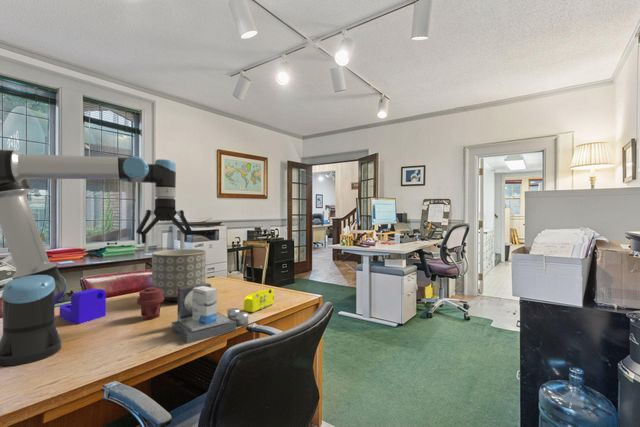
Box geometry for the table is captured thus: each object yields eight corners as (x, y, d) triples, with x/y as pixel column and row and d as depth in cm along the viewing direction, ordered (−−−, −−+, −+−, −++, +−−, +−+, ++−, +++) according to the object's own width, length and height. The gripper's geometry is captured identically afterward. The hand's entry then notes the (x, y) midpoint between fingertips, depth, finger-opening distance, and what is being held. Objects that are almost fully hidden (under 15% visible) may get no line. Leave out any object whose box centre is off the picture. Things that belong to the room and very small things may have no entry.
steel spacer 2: (239, 327, 120) (239, 316, 120) (233, 323, 124) (233, 313, 124) (250, 324, 123) (250, 314, 123) (244, 320, 127) (244, 311, 127)
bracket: (105, 316, 132) (105, 288, 132) (78, 324, 122) (79, 294, 122) (75, 311, 138) (75, 285, 138) (47, 319, 128) (47, 290, 128)
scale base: (186, 343, 104) (187, 299, 104) (169, 328, 118) (169, 288, 118) (236, 330, 116) (236, 290, 116) (214, 317, 131) (215, 281, 131)
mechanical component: (169, 314, 134) (152, 322, 125) (149, 312, 136) (131, 320, 127) (169, 286, 134) (152, 291, 125) (149, 284, 136) (131, 290, 127)
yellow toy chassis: (253, 314, 136) (253, 295, 136) (243, 312, 139) (243, 293, 139) (274, 304, 150) (274, 287, 150) (265, 303, 153) (265, 286, 153)
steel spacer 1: (230, 322, 125) (230, 312, 125) (225, 319, 129) (225, 309, 129) (242, 319, 129) (242, 310, 129) (236, 316, 132) (236, 307, 132)
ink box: (217, 320, 115) (217, 288, 115) (205, 323, 111) (205, 291, 111) (203, 315, 120) (203, 285, 120) (191, 319, 116) (192, 287, 116)
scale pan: (191, 331, 106) (191, 329, 106) (179, 322, 116) (179, 319, 116) (230, 322, 116) (230, 319, 116) (215, 314, 125) (215, 311, 125)
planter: (193, 305, 148) (193, 255, 148) (141, 305, 148) (141, 254, 148) (212, 292, 173) (212, 249, 173) (167, 291, 173) (167, 249, 173)
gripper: (132, 196, 115) (131, 253, 115) (199, 199, 132) (199, 249, 132) (127, 197, 121) (127, 251, 121) (193, 199, 138) (192, 247, 137)
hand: (164, 250), depth 126 cm, fingers open, 13 cm apart
